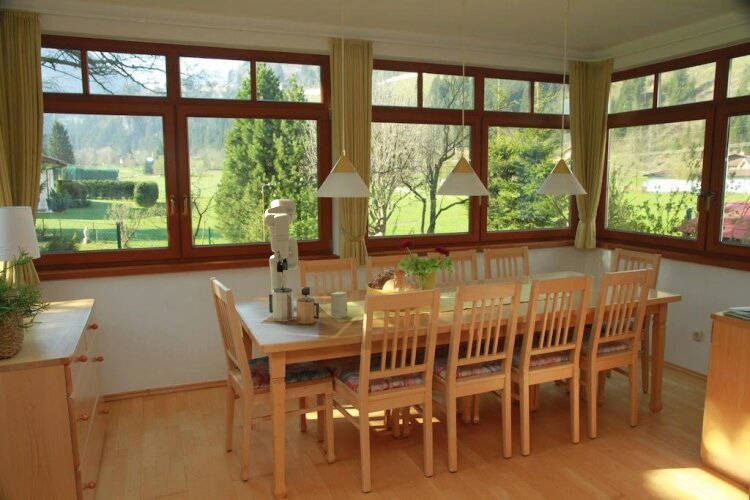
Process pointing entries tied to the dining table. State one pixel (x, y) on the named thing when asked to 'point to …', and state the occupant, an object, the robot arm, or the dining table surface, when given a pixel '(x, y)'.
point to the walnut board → (291, 322)
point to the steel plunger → (282, 274)
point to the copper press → (307, 310)
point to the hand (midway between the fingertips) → (282, 270)
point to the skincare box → (338, 305)
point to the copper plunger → (305, 291)
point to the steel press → (282, 304)
